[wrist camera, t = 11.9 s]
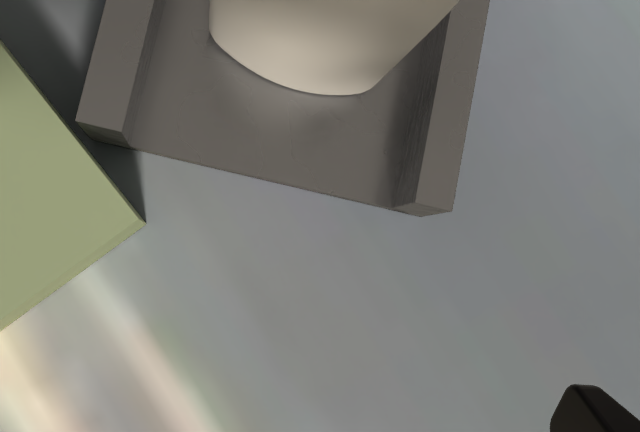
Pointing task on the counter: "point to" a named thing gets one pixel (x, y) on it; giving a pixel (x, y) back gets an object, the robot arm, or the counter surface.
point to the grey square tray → (285, 108)
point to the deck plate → (48, 198)
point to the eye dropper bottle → (323, 38)
